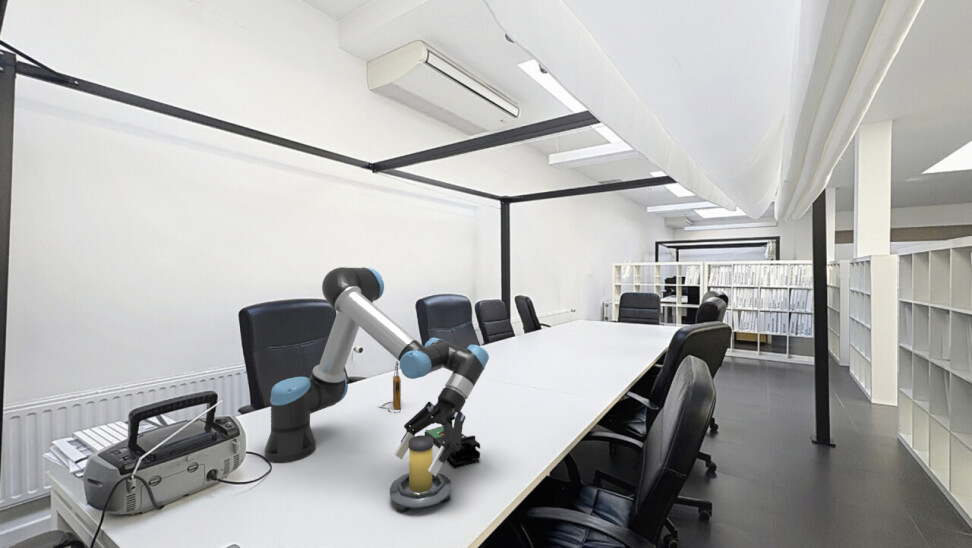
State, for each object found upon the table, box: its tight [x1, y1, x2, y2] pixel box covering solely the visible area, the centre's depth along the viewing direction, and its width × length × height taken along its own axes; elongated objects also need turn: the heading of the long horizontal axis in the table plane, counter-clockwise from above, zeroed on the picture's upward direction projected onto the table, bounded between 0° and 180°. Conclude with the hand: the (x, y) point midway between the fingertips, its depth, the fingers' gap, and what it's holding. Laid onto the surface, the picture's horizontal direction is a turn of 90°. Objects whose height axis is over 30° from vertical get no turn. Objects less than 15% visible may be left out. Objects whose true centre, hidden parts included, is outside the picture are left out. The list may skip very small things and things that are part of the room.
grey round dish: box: [389, 472, 452, 513], centre depth 104 cm, size 16×16×4 cm
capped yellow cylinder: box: [408, 434, 434, 492], centre depth 104 cm, size 6×6×12 cm
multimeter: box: [376, 361, 402, 414], centre depth 173 cm, size 15×10×20 cm
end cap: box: [444, 435, 481, 470], centre depth 124 cm, size 10×7×7 cm
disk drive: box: [424, 425, 467, 449], centre depth 140 cm, size 10×3×15 cm
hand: (414, 465), depth 102 cm, fingers open, 13 cm apart
